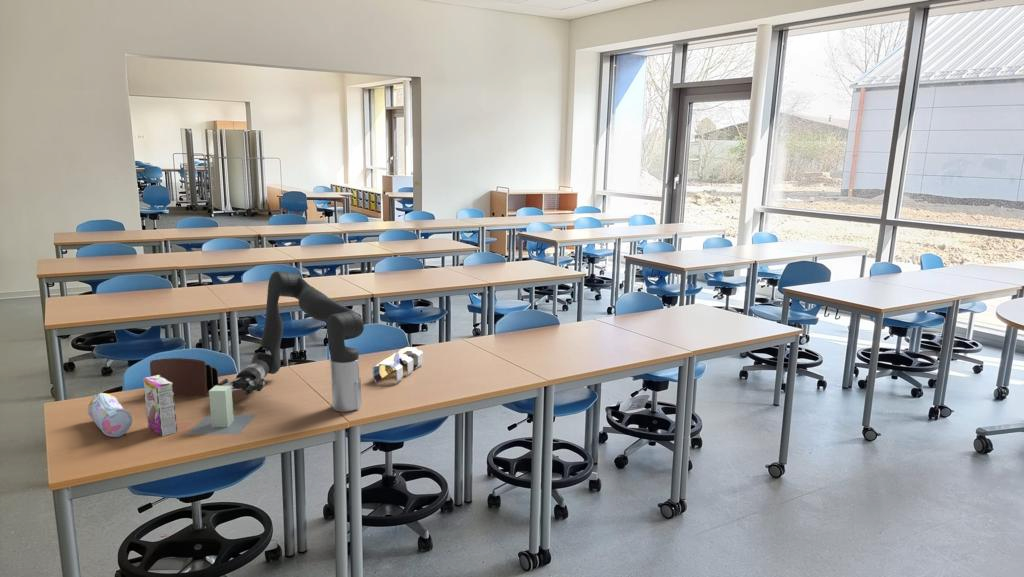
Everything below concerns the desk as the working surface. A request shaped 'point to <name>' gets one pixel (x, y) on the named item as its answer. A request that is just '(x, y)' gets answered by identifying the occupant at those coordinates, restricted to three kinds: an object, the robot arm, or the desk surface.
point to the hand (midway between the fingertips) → (233, 392)
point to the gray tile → (233, 428)
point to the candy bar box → (160, 405)
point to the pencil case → (109, 415)
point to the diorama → (398, 363)
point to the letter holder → (186, 375)
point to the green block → (221, 406)
